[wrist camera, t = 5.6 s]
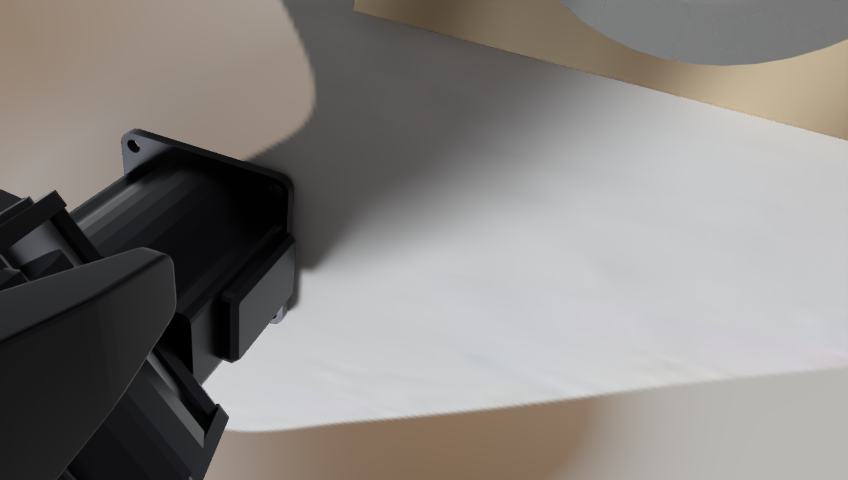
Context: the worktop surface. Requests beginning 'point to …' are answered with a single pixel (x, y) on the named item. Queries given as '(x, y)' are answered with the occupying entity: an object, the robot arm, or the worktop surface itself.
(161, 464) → the robot arm
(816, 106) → the oak board
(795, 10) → the pot lid
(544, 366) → the worktop surface
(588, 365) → the worktop surface
